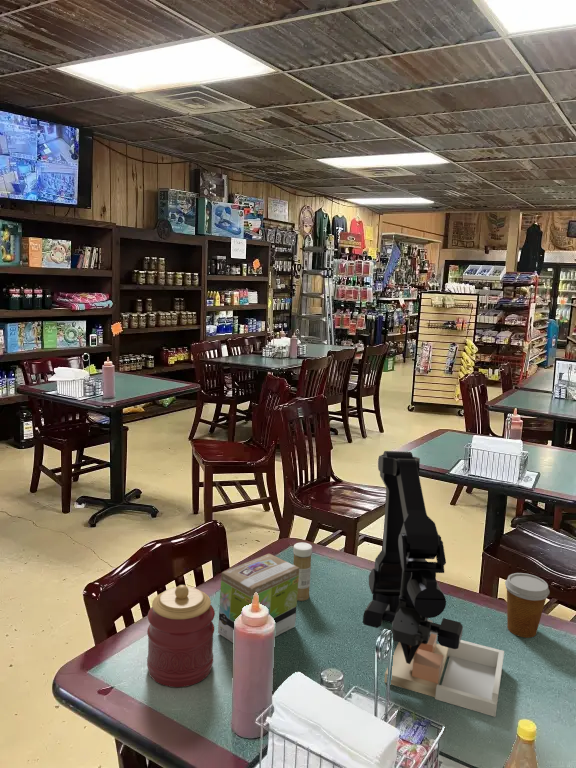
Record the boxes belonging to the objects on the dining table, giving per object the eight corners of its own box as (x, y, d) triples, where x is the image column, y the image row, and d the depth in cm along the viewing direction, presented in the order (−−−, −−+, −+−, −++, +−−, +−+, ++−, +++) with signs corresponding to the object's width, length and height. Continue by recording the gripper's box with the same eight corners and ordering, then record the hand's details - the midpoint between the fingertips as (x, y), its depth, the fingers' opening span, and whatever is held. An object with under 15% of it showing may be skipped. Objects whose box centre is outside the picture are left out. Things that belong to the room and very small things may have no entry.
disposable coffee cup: (520, 645, 139) (527, 595, 137) (491, 623, 148) (496, 575, 146) (553, 637, 143) (559, 588, 141) (522, 615, 152) (528, 569, 150)
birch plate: (384, 682, 124) (385, 673, 124) (401, 642, 138) (402, 634, 138) (435, 697, 121) (436, 688, 120) (447, 655, 134) (448, 646, 134)
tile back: (407, 652, 131) (408, 639, 131) (412, 639, 136) (413, 627, 135) (431, 658, 129) (433, 645, 129) (436, 646, 134) (437, 633, 133)
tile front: (411, 676, 124) (413, 662, 123) (417, 662, 128) (418, 648, 128) (437, 683, 122) (439, 669, 121) (442, 669, 126) (443, 655, 126)
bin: (435, 699, 120) (436, 680, 120) (448, 654, 135) (449, 637, 134) (495, 716, 116) (497, 697, 115) (502, 668, 131) (504, 651, 130)
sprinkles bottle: (306, 591, 158) (309, 541, 156) (311, 601, 154) (314, 549, 151) (289, 592, 157) (291, 542, 155) (293, 602, 153) (296, 550, 150)
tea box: (248, 654, 131) (251, 588, 129) (217, 634, 138) (218, 571, 135) (297, 627, 142) (300, 565, 140) (265, 609, 149) (268, 550, 146)
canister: (216, 650, 132) (219, 571, 129) (208, 690, 119) (211, 604, 116) (154, 647, 132) (155, 568, 129) (139, 687, 119) (140, 601, 116)
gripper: (357, 596, 120) (351, 671, 122) (457, 622, 112) (449, 701, 115) (373, 572, 130) (367, 641, 132) (466, 594, 122) (458, 667, 125)
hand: (408, 662), depth 126 cm, fingers closed
